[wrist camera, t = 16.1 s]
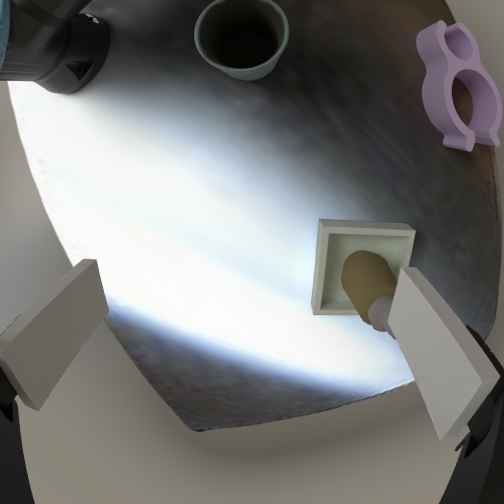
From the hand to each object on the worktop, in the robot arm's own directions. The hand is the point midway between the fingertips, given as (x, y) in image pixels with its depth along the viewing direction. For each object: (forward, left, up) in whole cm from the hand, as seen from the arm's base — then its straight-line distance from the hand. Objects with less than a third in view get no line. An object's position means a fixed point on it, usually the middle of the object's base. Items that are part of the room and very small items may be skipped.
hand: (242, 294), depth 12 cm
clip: (+30, +18, -33) cm, 48 cm away
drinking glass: (-2, +18, -33) cm, 38 cm away
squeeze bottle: (+16, -14, -32) cm, 39 cm away
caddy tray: (+16, -14, -33) cm, 39 cm away
